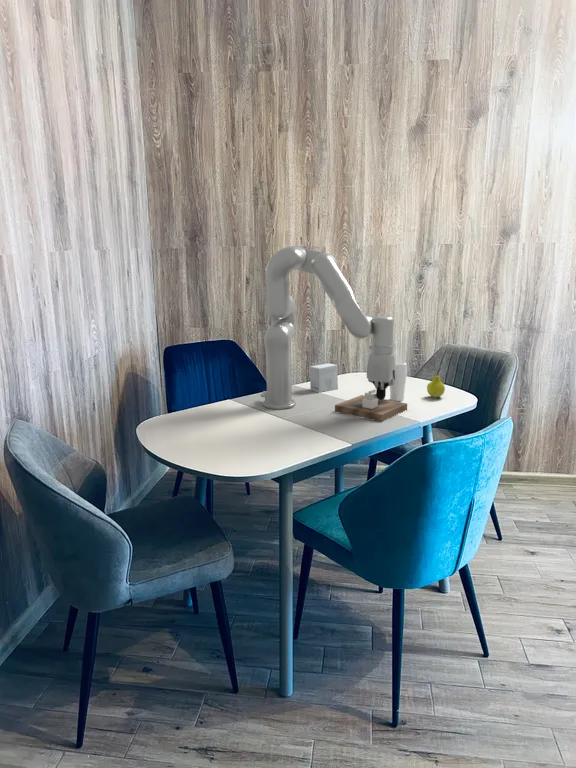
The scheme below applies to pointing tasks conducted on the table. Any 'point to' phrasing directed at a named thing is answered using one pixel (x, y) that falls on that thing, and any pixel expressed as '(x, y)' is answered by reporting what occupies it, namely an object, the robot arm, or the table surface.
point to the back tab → (371, 393)
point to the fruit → (436, 387)
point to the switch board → (379, 413)
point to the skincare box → (324, 377)
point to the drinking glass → (399, 382)
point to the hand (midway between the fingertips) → (380, 398)
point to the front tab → (370, 402)
